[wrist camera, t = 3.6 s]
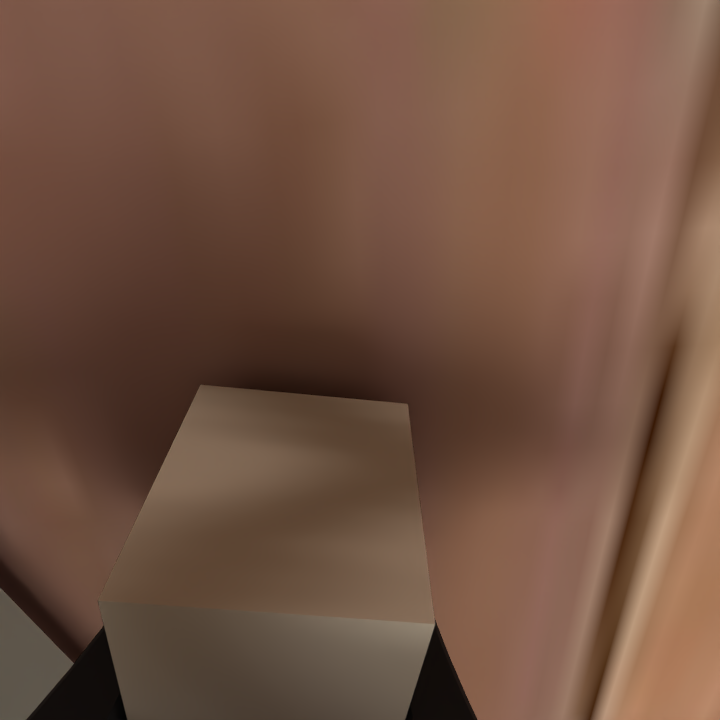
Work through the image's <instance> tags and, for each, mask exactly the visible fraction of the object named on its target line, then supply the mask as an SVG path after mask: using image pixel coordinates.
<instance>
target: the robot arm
mask: <svg viewBox="0 0 720 720" xmlns="http://www.w3.org/2000/svg"><path fill="white" fill-rule="evenodd" d="M26 720H127V716H126V712H125V708H124V704H123V700H122V696H121V692H120V688H119V684H118V680H117V676H116V672H115V668H114V664H113V660H112V656H111V652H110V648H109V644H108V640H107V636H106V632H105V628H104V626H103V627H102V629H101V630H100V631H99V632H98V634H97V635H96V636H95V638H94V639H93V640H92V641H91V643H90V644H89V645H88V646H87V648H86V649H85V650H84V652H83V653H82V654H81V655H80V657H79V658H78V659H77V660H76V662H75V663H74V664H73V665H72V667H71V668H70V669H69V670H68V671H67V673H66V674H65V675H64V676H63V677H62V678H61V680H60V681H59V682H58V683H57V684H56V685H55V687H54V688H53V689H52V690H51V691H50V692H49V694H48V695H47V696H46V697H45V698H44V700H43V701H42V702H41V703H40V704H39V705H38V707H37V708H36V709H35V710H34V711H33V712H32V714H31V715H30V716H29V717H28V718H27V719H26ZM405 720H477V718H476V716H475V714H474V711H473V709H472V707H471V705H470V703H469V701H468V698H467V696H466V694H465V692H464V689H463V687H462V685H461V682H460V680H459V678H458V675H457V673H456V671H455V668H454V666H453V664H452V661H451V659H450V657H449V654H448V652H447V649H446V647H445V644H444V642H443V639H442V636H441V634H440V631H439V628H438V626H437V623H436V620H435V626H434V630H433V633H432V636H431V639H430V642H429V646H428V649H427V652H426V655H425V658H424V661H423V665H422V668H421V671H420V674H419V677H418V680H417V684H416V687H415V690H414V693H413V696H412V699H411V703H410V706H409V709H408V712H407V715H406V718H405Z"/></svg>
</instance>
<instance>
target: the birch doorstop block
mask: <svg viewBox="0 0 720 720" xmlns="http://www.w3.org/2000/svg"><path fill="white" fill-rule="evenodd" d="M98 604H99V608H100V612H101V616H102V620H103V624H104V628H105V632H106V636H107V640H108V644H109V648H110V652H111V656H112V660H113V664H114V668H115V672H116V676H117V680H118V684H119V688H120V692H121V696H122V700H123V704H124V708H125V712H126V716H127V720H405V718H406V715H407V712H408V709H409V706H410V703H411V699H412V696H413V693H414V690H415V687H416V684H417V680H418V677H419V674H420V671H421V668H422V665H423V661H424V658H425V655H426V652H427V649H428V646H429V642H430V639H431V636H432V633H433V630H434V626H435V618H434V610H433V602H432V594H431V586H430V578H429V570H428V562H427V554H426V546H425V538H424V530H423V522H422V514H421V506H420V498H419V490H418V482H417V474H416V466H415V458H414V450H413V442H412V434H411V426H410V418H409V410H408V404H404V403H393V402H382V401H371V400H360V399H350V398H339V397H328V396H317V395H306V394H296V393H285V392H274V391H263V390H252V389H242V388H231V387H220V386H209V385H200V387H199V389H198V391H197V393H196V395H195V397H194V399H193V401H192V403H191V405H190V408H189V410H188V412H187V414H186V416H185V418H184V420H183V422H182V424H181V427H180V429H179V431H178V433H177V435H176V437H175V439H174V441H173V443H172V445H171V448H170V450H169V452H168V454H167V456H166V458H165V460H164V462H163V464H162V466H161V469H160V471H159V473H158V475H157V477H156V479H155V481H154V483H153V485H152V488H151V490H150V492H149V494H148V496H147V498H146V500H145V502H144V504H143V506H142V509H141V511H140V513H139V515H138V517H137V519H136V521H135V523H134V525H133V527H132V530H131V532H130V534H129V536H128V538H127V540H126V542H125V544H124V546H123V549H122V551H121V553H120V555H119V557H118V559H117V561H116V563H115V565H114V567H113V570H112V572H111V574H110V576H109V578H108V580H107V582H106V584H105V586H104V588H103V591H102V593H101V595H100V597H99V599H98Z"/></svg>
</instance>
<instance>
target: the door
mask: <svg viewBox="0 0 720 720" xmlns="http://www.w3.org/2000/svg"><path fill="white" fill-rule="evenodd" d="M73 664H74V663H73V662H72V661H71V660H70V659H69V658H68V657H67V656H66V655H65V654H64V653H63V652H62V651H61V650H60V649H59V648H58V647H57V646H56V645H55V644H54V642H53V641H52V640H51V639H50V638H49V637H48V636H47V635H46V634H45V633H44V632H43V631H42V630H41V629H40V628H39V627H38V626H37V625H36V624H35V623H34V622H33V621H32V620H31V619H30V618H29V617H28V616H27V615H26V614H25V613H24V612H23V611H22V610H21V609H20V608H19V607H18V606H17V604H16V603H15V602H14V601H13V600H12V599H11V598H10V597H9V596H8V595H7V594H6V593H5V592H4V591H3V590H2V589H1V588H0V720H26V719H27V718H28V717H29V716H30V715H31V714H32V712H33V711H34V710H35V709H36V708H37V707H38V705H39V704H40V703H41V702H42V701H43V700H44V698H45V697H46V696H47V695H48V694H49V692H50V691H51V690H52V689H53V688H54V687H55V685H56V684H57V683H58V682H59V681H60V680H61V678H62V677H63V676H64V675H65V674H66V673H67V671H68V670H69V669H70V668H71V667H72V665H73Z"/></svg>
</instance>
